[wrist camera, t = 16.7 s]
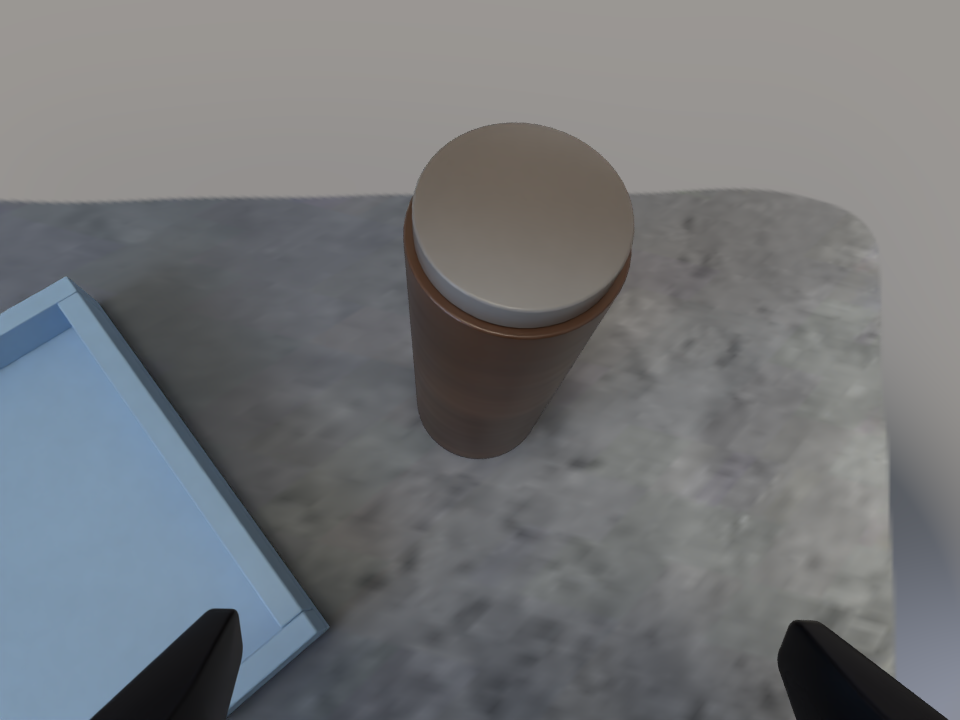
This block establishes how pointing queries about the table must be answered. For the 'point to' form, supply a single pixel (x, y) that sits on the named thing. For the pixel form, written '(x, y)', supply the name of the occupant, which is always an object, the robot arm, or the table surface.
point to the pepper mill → (508, 277)
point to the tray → (115, 523)
